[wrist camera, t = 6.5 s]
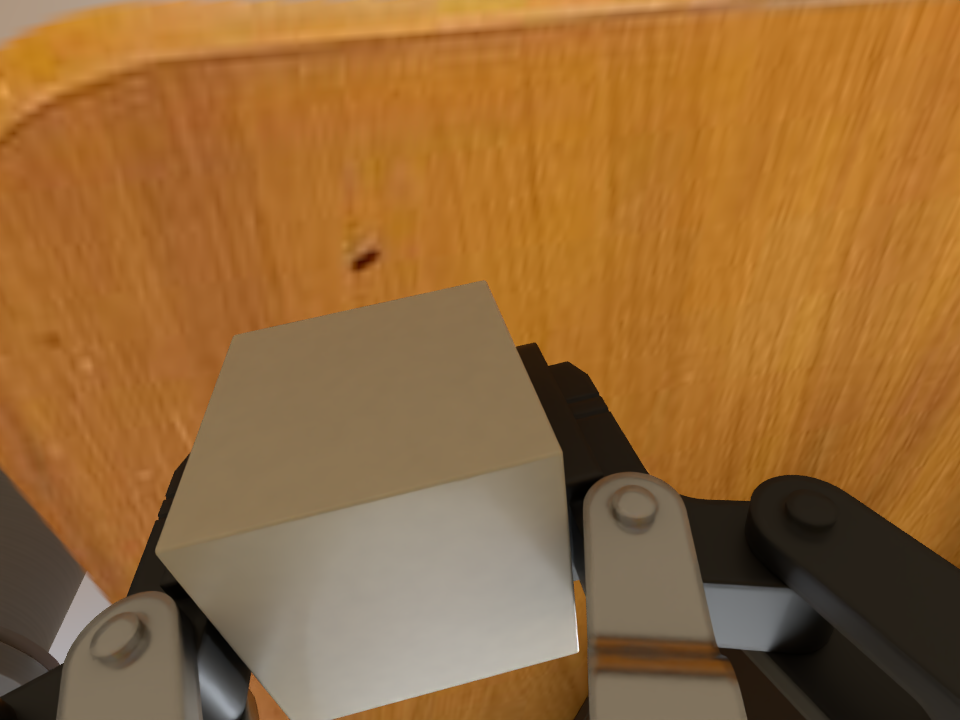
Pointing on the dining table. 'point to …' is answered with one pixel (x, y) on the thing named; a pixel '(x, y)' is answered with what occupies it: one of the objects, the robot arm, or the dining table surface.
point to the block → (377, 506)
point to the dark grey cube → (747, 692)
